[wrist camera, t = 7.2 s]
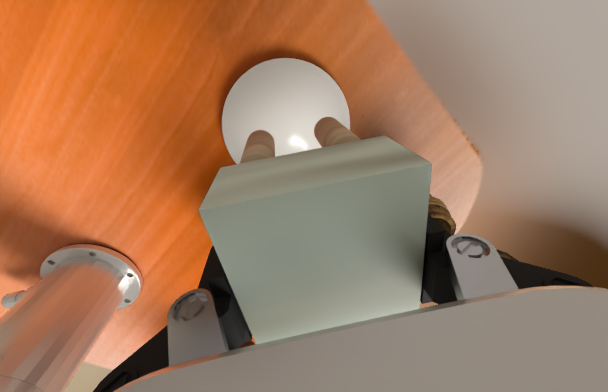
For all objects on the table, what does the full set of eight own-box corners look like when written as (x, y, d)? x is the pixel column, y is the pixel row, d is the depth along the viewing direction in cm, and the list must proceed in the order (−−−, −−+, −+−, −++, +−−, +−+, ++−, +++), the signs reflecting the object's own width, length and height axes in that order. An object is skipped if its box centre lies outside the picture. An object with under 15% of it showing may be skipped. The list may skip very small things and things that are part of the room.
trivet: (243, 194, 34) (242, 198, 32) (204, 72, 26) (202, 72, 25) (351, 172, 34) (354, 175, 33) (341, 46, 27) (344, 45, 26)
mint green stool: (239, 129, 14) (198, 210, 6) (342, 110, 14) (432, 163, 6) (270, 240, 18) (270, 378, 10) (352, 223, 18) (416, 346, 10)
